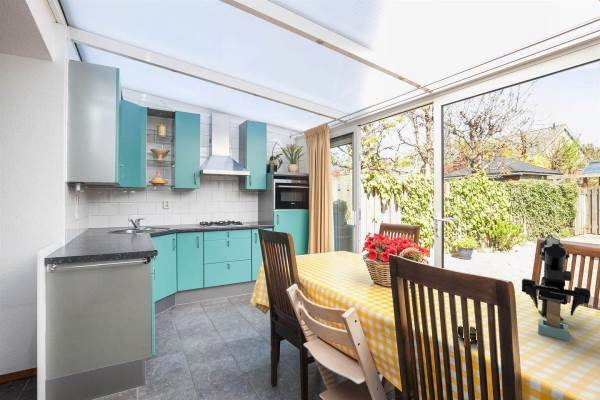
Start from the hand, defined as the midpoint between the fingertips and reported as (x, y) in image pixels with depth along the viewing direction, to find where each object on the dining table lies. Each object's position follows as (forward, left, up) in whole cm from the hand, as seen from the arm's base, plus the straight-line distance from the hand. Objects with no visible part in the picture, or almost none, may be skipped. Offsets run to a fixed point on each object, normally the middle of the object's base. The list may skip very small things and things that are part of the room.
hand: (553, 311), depth 104 cm
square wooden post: (-1, 0, -8) cm, 8 cm away
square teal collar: (-1, 0, -8) cm, 8 cm away
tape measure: (+20, -28, -8) cm, 35 cm away
